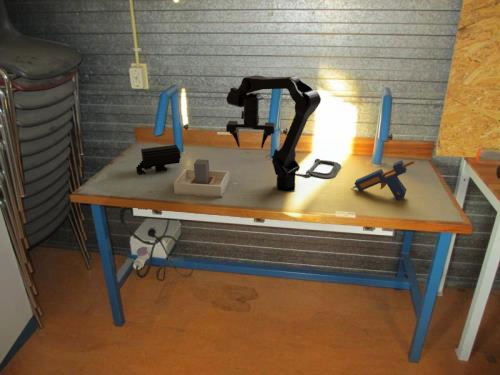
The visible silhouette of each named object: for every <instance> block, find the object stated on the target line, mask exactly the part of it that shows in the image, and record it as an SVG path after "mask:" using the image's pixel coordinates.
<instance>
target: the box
mask: <svg viewBox="0 0 500 375" xmlns="http://www.w3.org/2000/svg"><path fill="white" fill-rule="evenodd" d="M209 174H210V184H195V171H194V168H184V170H182V172H181V173H180V175H179V176H178V177H177V179H176V180H175V181H174V182H173V188H174V190H173V191H174V195H181V196H194V197H208V198H222V197H223V195H224V194H225V192H226V189H227V188H228V186H229V183H230V171H229V170H215V169H214V170H213V169H211V170H210V169H209Z"/></svg>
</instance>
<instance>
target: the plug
mask: <svg viewBox="0 0 500 375" xmlns="http://www.w3.org/2000/svg"><path fill="white" fill-rule="evenodd" d="M193 169H194V171H195V184H210V174H209V170H210V161H209V159H199V158H198V159H196V160H195V162H194V163H193Z"/></svg>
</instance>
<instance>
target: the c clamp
mask: <svg viewBox="0 0 500 375" xmlns="http://www.w3.org/2000/svg"><path fill="white" fill-rule="evenodd" d="M321 164H324V165H329V166H331V167H332V168H331V170H330V171H329V172H326V173H323V172H318V171H314V170H315V169H316V168H317V166H318V165H321ZM341 169H342V165H341V164H340V163H338V162H337V161H332V160H325V159H324V160H322V159H320V158H316V159H315V160H314V164H313V165H311V167H310V168H309V169H307V170H306V172H305V174H302V173H295V176H298V177H299V176H300V177H305V178H311V176H312V177H315V178H320V179H322V180H323V179H324V180H325V179H326V180H330V179H334V178H336V177H337V175H338V173H339V172H340V171H341Z"/></svg>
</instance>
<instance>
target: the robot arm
mask: <svg viewBox="0 0 500 375" xmlns="http://www.w3.org/2000/svg"><path fill="white" fill-rule="evenodd" d="M240 83H241V84H240V85H239V86H238V87H234V86H233V87H230V89H229V90H230V91H229V92H228V93H227V96H226V102H227V104H228V105H230V106H234V107H237V108H238V107H239V108H243V110H241V120H243V123H239V121H238V120H228V122H227V124H226V127H225V131H226V132H227V133H229V134H230V135H232V137H233V138H234V140H235V142H236V145H237V147H238V148H240V147H241V142H240V130H252V131H253V130H254V131H255V130H257V131H263V134H262V140H261V146H260V148H261V149H263V148H264V145H265V142H266V141H267V139H268V137H269V136H272V135H274V134H275V131H276V124H275V122H266V121H265V122H264V124H260V116H259V103H260V102H259V101H260V100H264V98H265V97H264V96H263V95H262V94H261V93H260V92H259V91H262V90H287V91H288V92H289V95H290V98H291V100H293V102H295V103H294V116H293V119H292V122H291V125H290V127H289V129H288V132H287V134H286V137H285V139H284V142H283V144H282V145H281V146H279V147H277V148H275V149H274V150H273V151H274V152H273V155H272V156H271V159H272V160H271V164H272V165H273V169H274V174H275V176H276V187H277V191H283V192H295V191H296V189H295V188H296V175H295V174H297V173H296V172H298V171H299V170H300V167H301V166H300V165H299V163H298V162H297V160H296V151H295V150H296V148H297V146H298V143H299V141H300V138H301V136H302V133H303V131H304V129H305V127H306V125H307V123H308V120H309V118H310V117H311V115H313V113H315V111H316V110H317V109H318V107H319V106H320V103H321V101H322V98H321V95H320V93H319V92H318V91H317V90H315V89H313V87H312V86H311V85H309V84H308V83H306V82H304V81H303V80H302V79H301V78H300V77H299V76H298V75H293V76H283V77H282V76H281V77H279V76H278V77H277V76H276V77H264V75H259V74H257V75H251V76H246V77H243V78H242V80H241V82H240ZM257 91H258V92H257ZM255 92H256V93H255Z"/></svg>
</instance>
